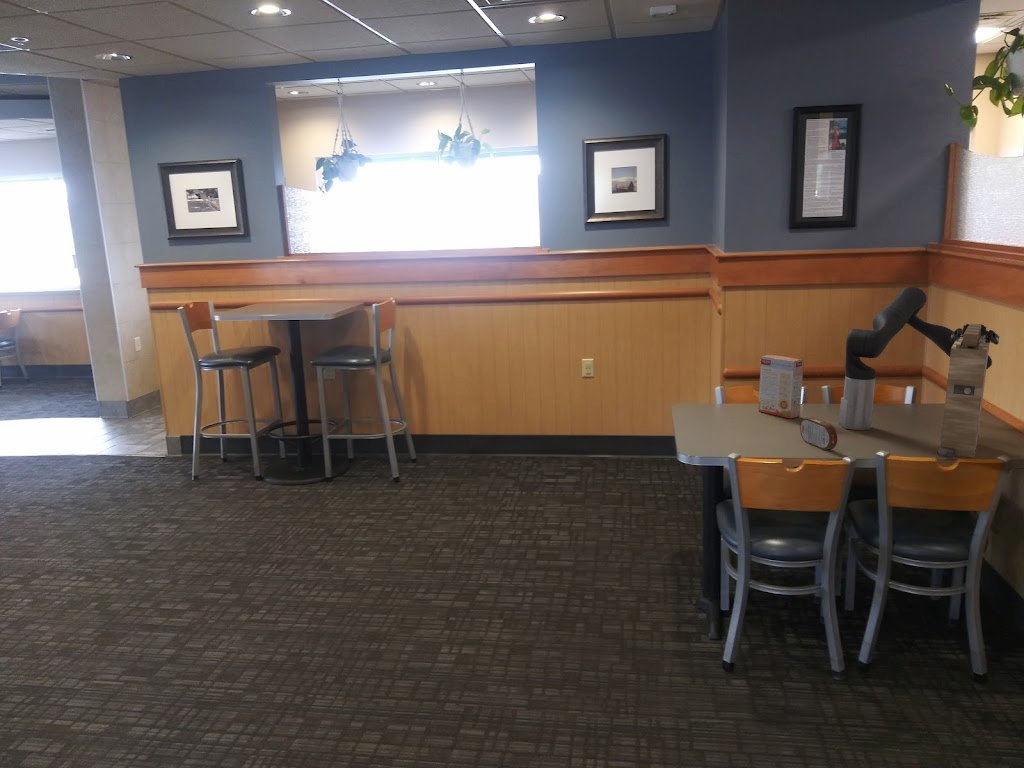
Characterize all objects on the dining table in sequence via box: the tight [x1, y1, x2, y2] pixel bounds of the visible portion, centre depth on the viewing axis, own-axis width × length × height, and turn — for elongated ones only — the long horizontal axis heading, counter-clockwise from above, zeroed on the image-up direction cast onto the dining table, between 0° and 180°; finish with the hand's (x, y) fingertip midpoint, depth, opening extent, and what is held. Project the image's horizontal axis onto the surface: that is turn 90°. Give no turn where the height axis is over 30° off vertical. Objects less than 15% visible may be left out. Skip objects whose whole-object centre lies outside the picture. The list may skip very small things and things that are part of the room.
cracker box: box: [757, 354, 805, 419], centre depth 277 cm, size 14×6×21 cm, turn 34°
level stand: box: [937, 337, 991, 458], centre depth 231 cm, size 22×9×33 cm, turn 147°
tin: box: [799, 416, 838, 451], centre depth 241 cm, size 15×3×8 cm, turn 17°
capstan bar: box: [963, 323, 983, 346], centre depth 234 cm, size 24×4×4 cm, turn 147°
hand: (974, 327), depth 239 cm, fingers closed on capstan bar, 3 cm apart
